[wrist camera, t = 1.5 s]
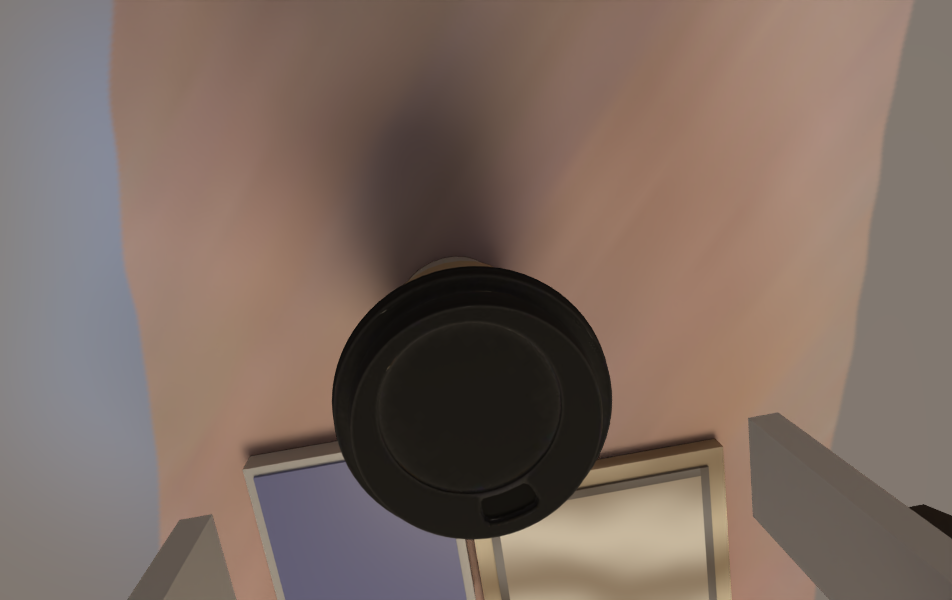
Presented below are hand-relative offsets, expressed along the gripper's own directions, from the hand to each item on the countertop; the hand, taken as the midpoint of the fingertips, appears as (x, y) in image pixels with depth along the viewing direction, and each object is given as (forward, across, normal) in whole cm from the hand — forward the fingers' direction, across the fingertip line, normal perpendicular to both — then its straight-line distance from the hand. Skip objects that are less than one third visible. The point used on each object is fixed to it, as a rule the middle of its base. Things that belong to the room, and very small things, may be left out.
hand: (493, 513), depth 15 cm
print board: (+19, +7, -18) cm, 27 cm away
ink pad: (+19, -7, -12) cm, 24 cm away
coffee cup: (+20, 0, 0) cm, 20 cm away
